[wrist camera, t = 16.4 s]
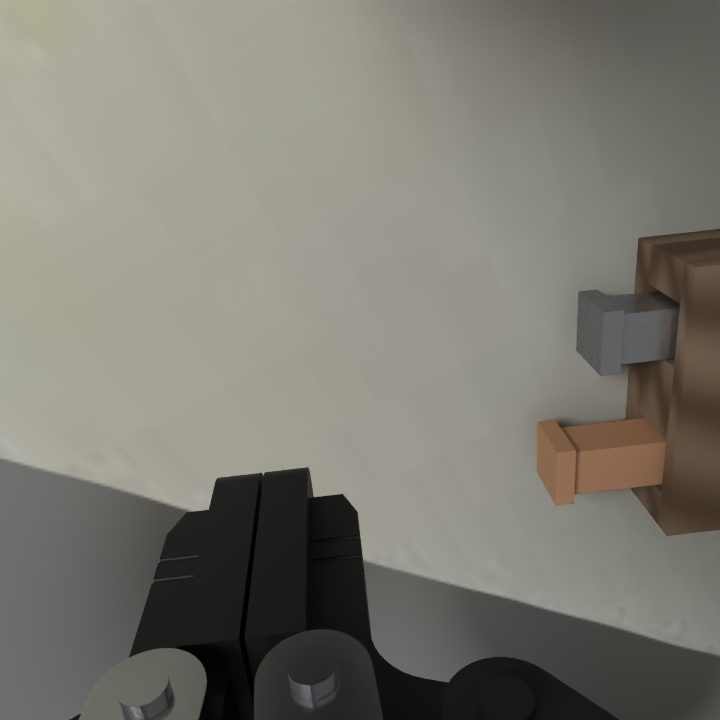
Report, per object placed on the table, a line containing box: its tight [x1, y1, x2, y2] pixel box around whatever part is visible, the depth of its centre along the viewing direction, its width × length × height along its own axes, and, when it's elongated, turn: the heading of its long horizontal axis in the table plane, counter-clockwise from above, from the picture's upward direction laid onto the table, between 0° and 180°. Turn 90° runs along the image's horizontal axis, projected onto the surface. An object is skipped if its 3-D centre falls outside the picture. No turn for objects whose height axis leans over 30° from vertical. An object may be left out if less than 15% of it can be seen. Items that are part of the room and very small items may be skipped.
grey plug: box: [576, 290, 680, 376], centre depth 41 cm, size 4×13×4 cm, turn 95°
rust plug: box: [537, 418, 666, 505], centre depth 45 cm, size 4×13×4 cm, turn 95°
